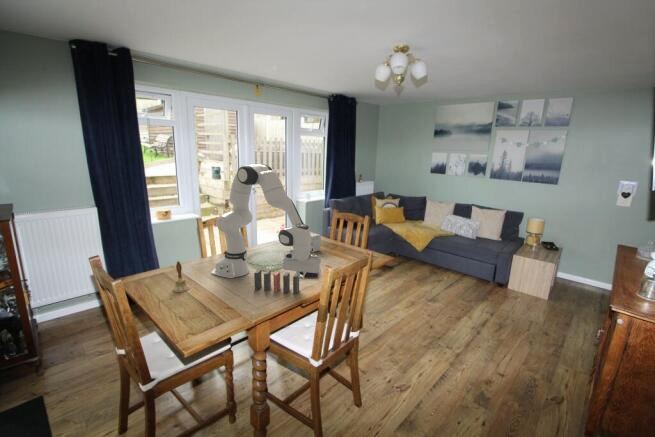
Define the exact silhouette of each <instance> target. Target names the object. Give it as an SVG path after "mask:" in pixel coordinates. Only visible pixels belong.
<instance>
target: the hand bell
mask: <svg viewBox="0 0 655 437" xmlns="http://www.w3.org/2000/svg"><path fill="white" fill-rule="evenodd" d="M175 268H176V271H177V277H178V278H177V279H176V281H175V286H174V287H173V289H172V291H173V292H174V293H184V292H186V290H187V291H188V290H190V288H191V287H190V285H188V284H187V282H186V279H185V278H183V276H182V269H183V268H182V264H181V262H180V261H179V260H178V261H176V266H175Z"/></svg>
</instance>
